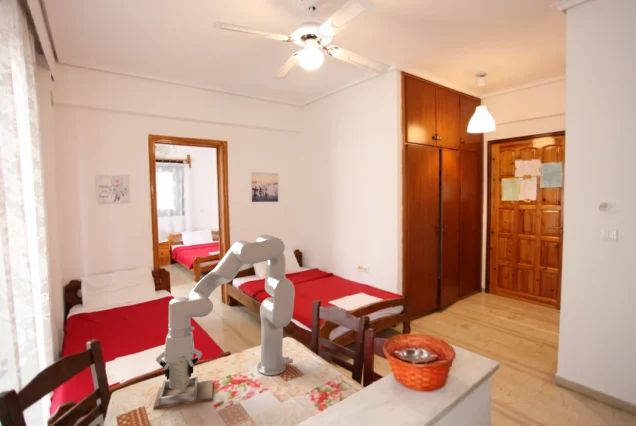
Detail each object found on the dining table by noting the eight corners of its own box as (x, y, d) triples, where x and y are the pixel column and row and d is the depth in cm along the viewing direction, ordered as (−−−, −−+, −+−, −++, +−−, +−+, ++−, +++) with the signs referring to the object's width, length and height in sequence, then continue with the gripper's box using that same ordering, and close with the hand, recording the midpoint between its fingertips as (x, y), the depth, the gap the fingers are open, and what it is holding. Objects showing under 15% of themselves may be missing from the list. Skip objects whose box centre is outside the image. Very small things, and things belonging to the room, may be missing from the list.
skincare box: (189, 383, 127) (190, 352, 126) (184, 390, 122) (184, 358, 122) (174, 381, 128) (174, 351, 127) (168, 388, 123) (168, 357, 122)
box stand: (212, 382, 135) (212, 374, 134) (212, 400, 123) (212, 391, 123) (159, 389, 129) (159, 381, 129) (153, 409, 117) (153, 399, 117)
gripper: (204, 325, 130) (203, 368, 131) (156, 329, 125) (155, 374, 126) (203, 332, 123) (203, 378, 124) (152, 337, 118) (152, 385, 119)
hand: (179, 376), depth 125 cm, fingers closed on skincare box, 7 cm apart
